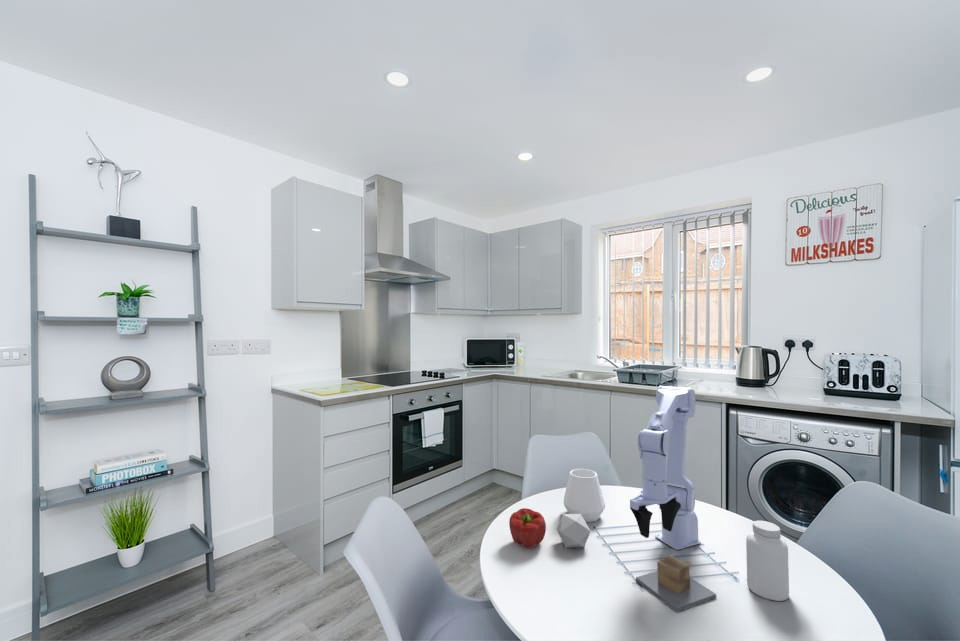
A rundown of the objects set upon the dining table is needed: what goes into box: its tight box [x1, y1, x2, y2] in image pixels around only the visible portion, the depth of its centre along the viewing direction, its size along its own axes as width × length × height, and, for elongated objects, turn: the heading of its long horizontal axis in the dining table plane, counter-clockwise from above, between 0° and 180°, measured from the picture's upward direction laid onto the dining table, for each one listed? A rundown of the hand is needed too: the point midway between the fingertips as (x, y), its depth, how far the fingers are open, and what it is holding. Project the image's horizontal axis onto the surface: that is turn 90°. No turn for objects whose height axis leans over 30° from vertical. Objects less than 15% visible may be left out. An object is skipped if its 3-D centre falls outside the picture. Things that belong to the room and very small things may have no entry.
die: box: [556, 513, 591, 549], centre depth 115 cm, size 8×9×10 cm
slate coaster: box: [635, 570, 717, 613], centre depth 95 cm, size 12×12×1 cm
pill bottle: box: [745, 520, 790, 602], centre depth 94 cm, size 8×8×15 cm
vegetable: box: [508, 507, 547, 549], centre depth 115 cm, size 11×10×10 cm
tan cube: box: [657, 554, 691, 594], centre depth 95 cm, size 5×5×5 cm
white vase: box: [563, 468, 606, 523], centre depth 134 cm, size 13×13×14 cm
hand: (656, 532), depth 102 cm, fingers open, 7 cm apart
